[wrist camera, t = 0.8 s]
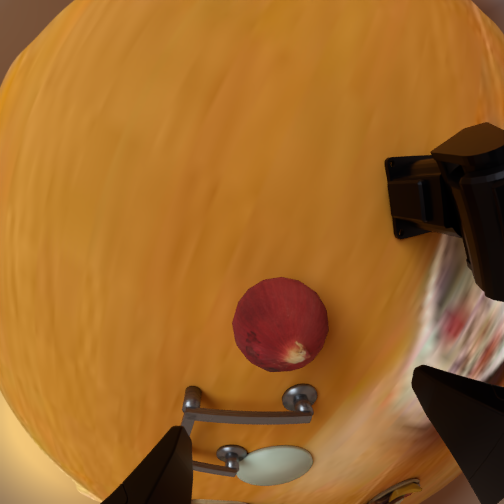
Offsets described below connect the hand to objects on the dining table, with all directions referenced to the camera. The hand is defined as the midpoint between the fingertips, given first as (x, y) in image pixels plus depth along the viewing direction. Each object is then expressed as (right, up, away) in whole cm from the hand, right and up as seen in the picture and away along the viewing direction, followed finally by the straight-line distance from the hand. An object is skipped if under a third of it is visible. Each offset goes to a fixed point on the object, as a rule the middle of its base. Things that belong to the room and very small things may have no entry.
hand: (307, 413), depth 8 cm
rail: (-3, -11, +14) cm, 18 cm away
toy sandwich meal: (+26, -44, +23) cm, 56 cm away
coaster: (+1, -19, +16) cm, 25 cm away
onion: (-1, +2, +12) cm, 12 cm away
